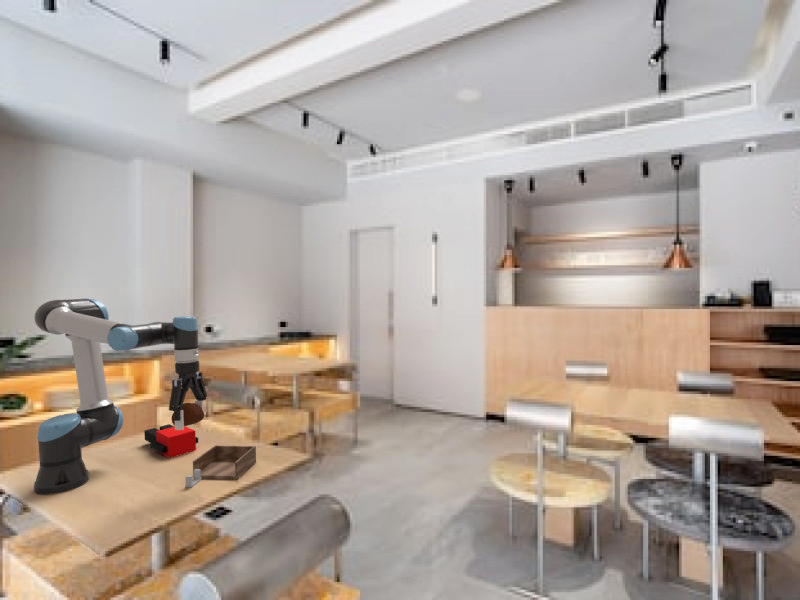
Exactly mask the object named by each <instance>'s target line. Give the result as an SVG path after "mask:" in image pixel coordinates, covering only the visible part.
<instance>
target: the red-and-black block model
mask: <svg viewBox="0 0 800 600" xmlns="http://www.w3.org/2000/svg"><path fill="white" fill-rule="evenodd" d="M143 434H144V440H145V441H146V442H147V443H150V445H151V446H150V447H151V448H152V449H153V450H155V451H156V452H158V453H160V454H162V455H164V456H166V457H167V458H169V459H172V458H174V456H175V457H178V456H181V455H180V454H182V455H184V453H185V454H188V453H191V452H194V450H195V451H197V444H199V437H197V436H196V430H195V429H193V428H190V427H188V426H184V430H175V425H173V424H169V423H168V424H165V425H162V426H161V425H160V426H159V429H158V428H156V427H154V428H149V429H145V430H144V433H143ZM151 448H150V449H151ZM187 452H188V453H187ZM177 455H178V456H177ZM171 457H172V458H171Z"/></svg>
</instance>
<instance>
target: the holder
mask: <svg viewBox="0 0 800 600" xmlns="http://www.w3.org/2000/svg"><path fill="white" fill-rule="evenodd" d="M256 451H257V448H256V446H255V445H252V446H251V445H214V446H212V447H211V448H210V449H208V450H207V451H205V452H204V453H202V454H201V455H200V456H198V457H197V458H195V459H194V460H192V475H193V479H194V470H195V469H201V478H202V479H203V480H230V481H231V480H235V481H236V480H239V479H240V478H241V477H242V476H243V475H244V474H245V473H247V471H248V470H249V469H251V467H253V466H254V465H255V464H256V463H257V452H256Z"/></svg>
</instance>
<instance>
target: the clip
mask: <svg viewBox="0 0 800 600" xmlns="http://www.w3.org/2000/svg"><path fill="white" fill-rule="evenodd" d="M200 481H202V478H201V469H195V470H194V478H193V474H192V475H190V474H189V475H185V486H184V487H185V488H193V487H195V485H197V484H198V483H200Z"/></svg>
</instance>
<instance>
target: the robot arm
mask: <svg viewBox="0 0 800 600" xmlns="http://www.w3.org/2000/svg"><path fill="white" fill-rule="evenodd" d="M34 322H35V325H36V326H37V327H38V328H39V329H40V330H42V331H44V332H45V333H49V334H52V335H53V334H54V335H65V338H67V339H68V340H69V341H71V345H72V346H71V347H72V348H71V349H72V354H73V360H74V369H75V374H76V380H77V387H78V389H77V390H78V395H79V402H80V405H79V406H78V407H77V408H76V410H75V411H76V413H75V412H71V413H70V412H69V413H64V414H61V415H60V414H59V415H55V416H54V417H51V418H48V419H46V420H44V421H43V422H42V423H40V424H39V427H38V429H37V430H38V431H37V437H36V438H37V440H38V442H37V443H38V457H39V459H38V460H39V467H38V468H39V469H38V472H37V475H36V480H35V481H34V484H33V492H34V493H35V494H36V495H54V494H60V493H64V492H67V491H70V490H74V489H76V488H78V487H79V488H80V486H82V485H84V484H86V483H87V482H88V481H89V479H90V474H89V473H90V472H89V471H88V469H87V468H86V467H87V466H86V465H85V461H84V459H83V454H82V451H83V450H82V449H83V448H86V447H88V446H91V445H94V444H96V443H99V442H102V441H107V440H109V439H110V438H113V437H114V436H116V435H118V434H119V432H120V431H121V429H122V428H123V425H124V414H123V412H122V410H121V408H120V407H118V406H117V405H115V404H114V403H115V402H114V401H113V400H111V399H109V397H108V389H107V382H106V375H105V368H104V361H103V355H102V348H101V343H103V344H106V345H108V346H109V347H110V348H111V350H113V351H116V352H121V351H130V350H134V349H141V348H146V347H147V348H148V347H151V346H152V347H153V346H159V345H173V348H174V353H173V354H174V361H175V364H174V369H175V370H174V371H175V372H174V373H175V374H177V375H178V378H177V379H173V380H172V381H171V384H172V385H171V386H172V387H171V393H170V398H169V406H168V411H169V412H173V413H174V420H175V425H174V426H175V430H184V418H183V410H181V409H182V405H183V404H184V402H185V398H186V395H187V393H188V391H189V390H191V392H192V394H193V396H194V398H195V399H196V400H194V403H196V404H198V405H199V406H200V407H201V408H202V410H203V412H204V413H205V410H204V401H206V400H207V397H208V394H207V393H208V392H207V391H206V386H205V382H204V377H203V372H201V371H200V361H199V358H200V357H199V355H200V352H199V326H198V320H197V317H195V316H193V315H190V316H189V315H188V316H187V315H186V316H184V315H183V316H175V317H173V319H172V322H166V321H165V322H164V321H163V322H161V321H157V322H156V321H154V322H150V323H145V324H136V325H135V324H133V325H131V324H127V323H123V322H119V321H113V320H110V319H109V311H108V308H107V307H106V306H105V304H104V303H103V302H101V301H100V300H98V299H95V298H72V299H54V300H49V301H47V302H44V303H42V304H41V305H40V306H39V307H38V308H37V309H36V311H35V313H34ZM204 419H205V417H204V418H203V419H202V420H204Z"/></svg>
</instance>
